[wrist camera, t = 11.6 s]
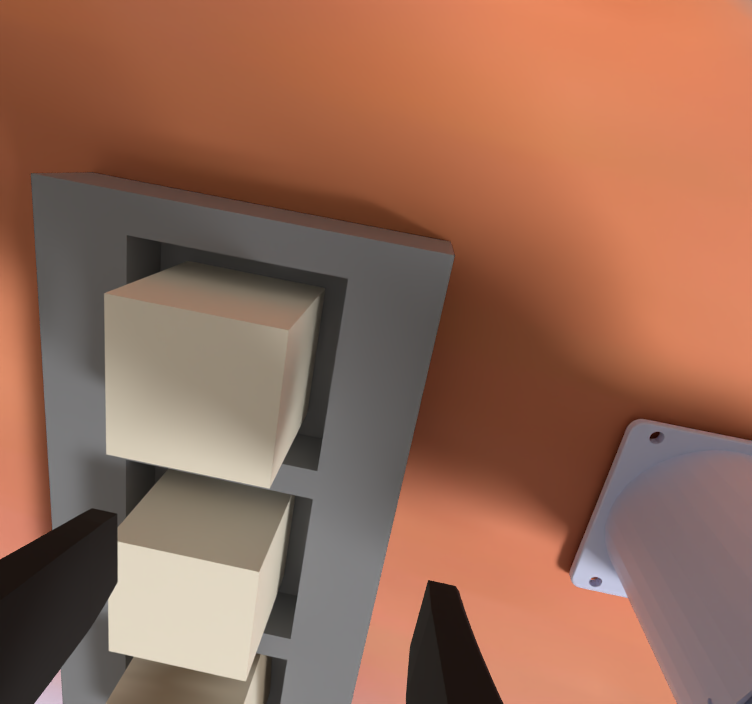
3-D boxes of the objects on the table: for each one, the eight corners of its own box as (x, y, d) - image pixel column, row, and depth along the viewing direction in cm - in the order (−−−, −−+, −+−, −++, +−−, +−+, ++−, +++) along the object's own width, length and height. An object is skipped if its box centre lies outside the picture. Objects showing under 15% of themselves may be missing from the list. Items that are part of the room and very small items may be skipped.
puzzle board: (450, 241, 18) (460, 273, 12) (339, 732, 27) (317, 875, 21) (92, 172, 18) (-51, 174, 13) (102, 678, 27) (21, 806, 22)
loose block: (274, 615, 23) (235, 727, 19) (270, 691, 25) (233, 810, 21) (169, 598, 24) (105, 703, 19) (172, 674, 25) (114, 788, 21)
